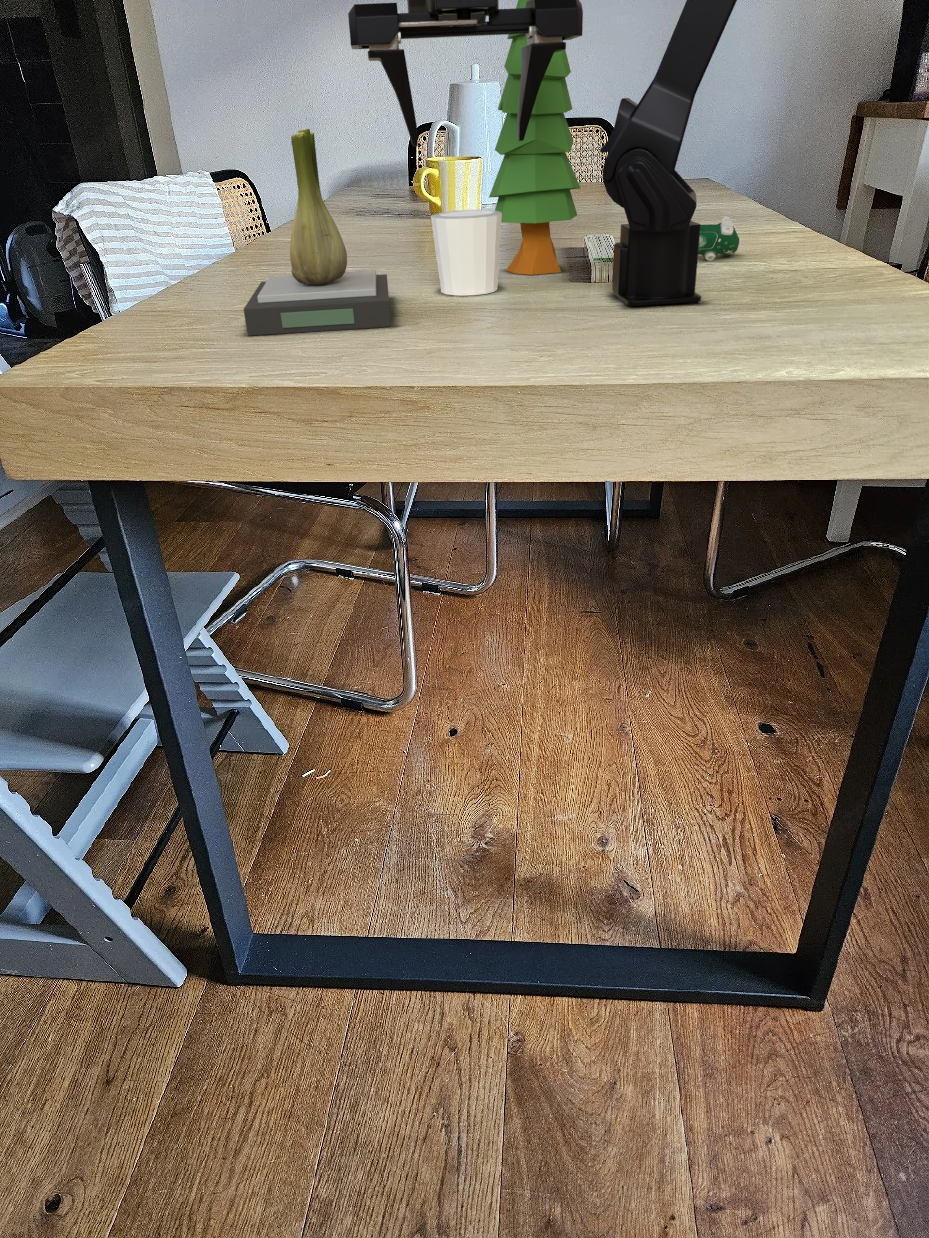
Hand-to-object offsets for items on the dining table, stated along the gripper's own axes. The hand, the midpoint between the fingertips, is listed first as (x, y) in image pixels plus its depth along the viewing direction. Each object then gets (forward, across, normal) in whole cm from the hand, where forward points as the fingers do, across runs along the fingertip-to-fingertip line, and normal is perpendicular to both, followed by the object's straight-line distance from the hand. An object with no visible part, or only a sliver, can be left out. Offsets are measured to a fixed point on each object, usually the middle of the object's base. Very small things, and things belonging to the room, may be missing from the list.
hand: (468, 143), depth 77 cm
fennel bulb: (+10, +14, +3) cm, 18 cm away
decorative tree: (+13, -8, -15) cm, 22 cm away
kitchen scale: (+13, +14, +3) cm, 19 cm away
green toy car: (+13, -26, -15) cm, 33 cm away
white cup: (+13, 0, -5) cm, 14 cm away
